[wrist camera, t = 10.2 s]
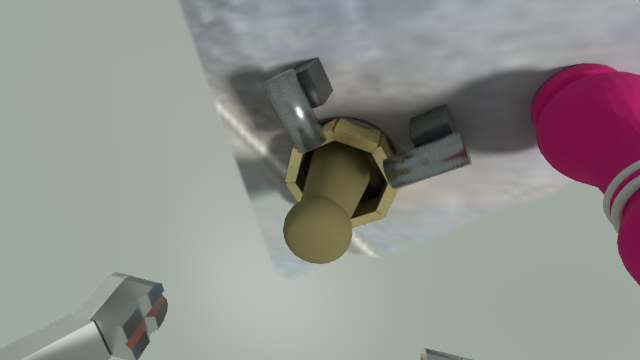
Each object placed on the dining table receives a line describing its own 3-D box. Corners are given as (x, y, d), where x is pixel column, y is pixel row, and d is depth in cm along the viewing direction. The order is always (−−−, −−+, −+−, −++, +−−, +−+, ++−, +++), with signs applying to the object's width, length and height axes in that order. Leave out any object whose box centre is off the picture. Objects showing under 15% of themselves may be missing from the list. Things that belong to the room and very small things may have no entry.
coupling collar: (286, 189, 38) (277, 206, 36) (307, 101, 32) (297, 114, 30) (378, 222, 38) (375, 241, 35) (417, 139, 32) (417, 154, 29)
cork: (298, 166, 35) (256, 239, 27) (338, 127, 32) (306, 197, 23) (342, 204, 37) (316, 287, 28) (385, 171, 33) (371, 252, 24)
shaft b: (451, 101, 29) (456, 131, 24) (468, 142, 31) (476, 178, 26) (384, 130, 32) (377, 161, 27) (402, 165, 33) (399, 202, 29)
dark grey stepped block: (276, 69, 31) (249, 91, 27) (316, 51, 30) (294, 71, 25) (306, 129, 34) (286, 159, 29) (344, 115, 32) (330, 144, 27)
